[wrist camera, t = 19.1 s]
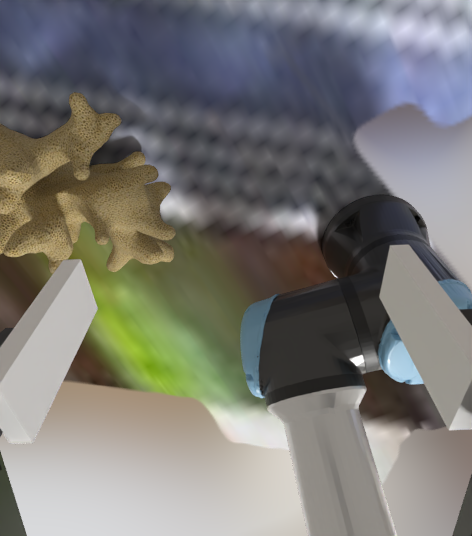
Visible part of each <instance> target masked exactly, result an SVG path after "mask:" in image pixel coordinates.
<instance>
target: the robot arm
mask: <svg viewBox="0 0 472 536" xmlns="http://www.w3.org/2000/svg"><path fill="white" fill-rule="evenodd" d="M322 251H323V256H324V259H325V261H326V264H327V266H328V268H329V270H330V271H331V273H332V274H333V275H334V276H335V277H336V278H337V279H335V280H331V281H328V282H324V283H321V284H317V285H314V286H310V287H306V288H303V289H299V290H295V291H291V292H287V293H284V294H275V295H274V296H272V297H271V298H268V299H265V300H262V301H259V302H256V303H253V304H252V305H250V306H249V307H248V308H247V310H246V311H245V313H244V316H243V319H242V323H241V335H240V342H241V356H242V364H243V369H244V372H245V373H246V381H247V384H248V387H249V389H250V391H251V393H252V394H253V395H255V396H256V397H260V398H265V400H266V405H267V410H268V411H269V412H270V413H271V414H273V415H274V416H276V417H277V418H278V419H280V420H281V421H282V423H283V424H284V427H285V432H286V436H287V441H288V446H289V450H290V455H291V459H292V464H293V468H294V473H295V478H296V483H297V487H298V491H299V496H300V501H301V506H302V510H303V514H304V519H305V524H306V528H307V533H308V536H397V533H396V530H395V527H394V523H393V520H392V517H391V514H390V510H389V507H388V504H387V501H386V497H385V494H384V491H383V488H382V484H381V481H380V478H379V475H378V471H377V468H376V465H375V462H374V458H373V455H372V452H371V449H370V445H369V442H368V439H367V436H366V432H365V429H364V426H363V423H362V419H361V416H360V413H359V404H360V402H361V400H362V398H363V396H364V394H365V392H366V390H367V389H366V386H365V383H364V380H363V377H362V374H363V373H367V372H372V371H376V370H381V369H383V370H384V372H385V373H386V374H388V375H389V376H390V377H391V378H392V379H394V380H396V381H398V382H404V381H405V382H406V383H407V384H423V383H424V384H425V386H426V388H427V390H428V392H429V394H430V396H431V397H432V399H433V401H434V403H435V405H436V407H437V409H438V411H439V413H440V415H441V417H442V419H443V420H444V422H445V424H446V426H447V428H448V430H469V429H470V430H471V429H472V294H471V291H470V289H468V287H467V286H466V285H465V284H464V283H462V282H461V281H460V280H459V279H458V278H457V276H456V275H455V274H454V273H453V272H452V271H451V270H450V269H449V267H448V266H447V265H446V264H445V263H444V262H443V261H442V259H441V258H440V257H439V256H438V255H437V254H436V253H435V252H434V250H433V249H432V248H431V247H430V243H429V237H428V232H427V227H426V224H425V222H424V220H423V218H422V217H421V215H420V214H419V213H418V212H417V211H416V210H415V208H414V207H412V205H410V204H409V203H408V202H406V201H405V200H403V199H400V198H398V197H394V196H389V195H375V196H369V197H365V198H362V199H359V200H357V201H355V202H353V203H351V204H349V205H348V206H346V207H345V208H343V209H342V210H341V211H340V212H339V213H338V214H337V215H336V216H335V217H334V218H333V219H332V220H331V222H330V223H329V225H328V227H327V229H326V231H325V233H324V237H323V242H322ZM97 309H98V308H97V305H96V302H95V299H94V296H93V293H92V290H91V287H90V285H89V282H88V279H87V276H86V273H85V270H84V267H83V264H82V261H81V259H76V260H63V261H62V263H61V264H60V265H59V267H58V268H57V269H56V271H55V272H54V274H53V275H52V276H51V278H50V279H49V281H48V282H47V283H46V285H45V286H44V287H43V289H42V290H41V292H40V293H39V294H38V296H37V297H36V299H35V300H34V301H33V303H32V304H31V305H30V307H29V308H28V310H27V311H26V312H25V314H24V315H23V317H22V318H21V319H20V321H19V322H18V323H17V325H16V326H15V328H5V329H4V330H3V331H2V332H0V436H1V434H2V433H3V435H4V436H5V437H6V439H7V441H8V442H9V443H10V444H13V443H14V444H15V443H33V442H34V440H35V438H36V436H37V434H38V432H39V430H40V427H41V425H42V423H43V421H44V419H45V417H46V415H47V413H48V411H49V409H50V407H51V405H52V403H53V400H54V398H55V396H56V394H57V392H58V390H59V388H60V386H61V384H62V382H63V380H64V378H65V376H66V374H67V371H68V369H69V367H70V365H71V363H72V361H73V359H74V357H75V355H76V353H77V351H78V349H79V346H80V344H81V342H82V340H83V338H84V336H85V334H86V332H87V330H88V328H89V326H90V324H91V322H92V319H93V317H94V315H95V313H96V311H97ZM0 536H27V535H26V532H25V528H24V525H23V522H22V519H21V516H20V513H19V509H18V507H17V503H16V500H15V497H14V493H13V490H12V487H11V484H10V481H9V477H8V475H7V471H6V468H5V465H4V462H3V458H2V455H1V452H0ZM453 536H472V475H471V478H470V481H469V485H468V488H467V491H466V494H465V497H464V500H463V504H462V507H461V510H460V513H459V516H458V520H457V523H456V526H455V529H454V532H453Z"/></svg>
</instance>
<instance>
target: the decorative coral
mask: <svg viewBox="0 0 472 536" xmlns="http://www.w3.org/2000/svg"><path fill="white" fill-rule="evenodd" d="M69 104H70V107H71V110H72V114H71V117H70V119H69V120H68V122H67V123H66V124H64V125H63V126H61V127H60V128H58V129H56V130H55V131H53V132H52V133H50V134H49V135H47V136H44V137H42V138H38V139H33V138H30V137H28V136H26V135H24V134H21V133H19V132H16V131H13V130H10V129H9V128H7V127H5V126H4V125H2V124H0V254H1V253H4V254H5V255H6V256H10V257H18V256H22V255H24V254H27V253H38V252H44V253H45V254H46V255H47V257H48V259H49V270H50V272H51V273H52V274H54V272H55V271H56V269H57V268H58V267H59V265H60V264H61V263H62V261H63V260H67V259H68V258H69V256H70V255H71V254H72V251H73V243H75V242H76V241H77V240H78V238H79V233H80V228H81V223H82V222H87V223H89V224H91V225H92V226H93V228H94V229H95V240H96V242H97V243H98V244H100V245H105V244H106V243H107V242H108V241H109V237H110V238H111V241H112V243H113V249H112V252H111V254H110V256H109V258H108V260H107V268H108V269H109V270H110V271H112V272H116V271H118V270H119V269H120V268H122V267H123V266H124V265H125V264H126V263H127V262H128V261H129V260H130V259H132V258H135V259H137V260H138V261H140V262H141V263H144V264H154V263H158V262H159V261H164V262H170V261H172V260H173V257H174V250H173V248H172V247H171V246H170V245H169V244H167V243H166V242H164V241H163V240H171V239H172V238H173V237H174V236H175V230H174V228H173V227H172V226H170V225H167V224H165V223H164V222H163V221H162V219H161V216H160V204H161V202H162V201H163V199H164V198H165V197H166V196H167V194H168V193H169V192H170V190H171V186H170V185H169V184H168V183H166V182H155V183H151V184H147V185H145V184H146V183H149V182H152V181H154V180H156V179H157V177H158V171H157V169H156V168H155V167H154V166H151V165H144V163H145V156H144V154H143V153H142V152H140V151H136V152H133V153H132V154H131V155H129V156H128V157H126V158H125V159H123V160H121V161H120V162H118V163H111V164H96V165H92V166H89V164H90V161H91V158H92V156H93V154H94V153H95V152H96V151H97V150H98V149H99V148H100V147H101V146H102V145H103V144H104V143H105V142H107V141H108V139H109V138H110V136H111V134H112V132H113V130H114V129H115V128H116V127H118V126H119V125H120V124H121V118H120V117H119V115H117V114H113V113H102V114H98V113H96V112H95V111H94V110H93V108H92V107H91V106H90V105H89V104H88V102H87V100H86V98H85V97H84V96H83V95H82V94H81V93H75V92H74V93H72V94H71V95H70V97H69Z"/></svg>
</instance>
